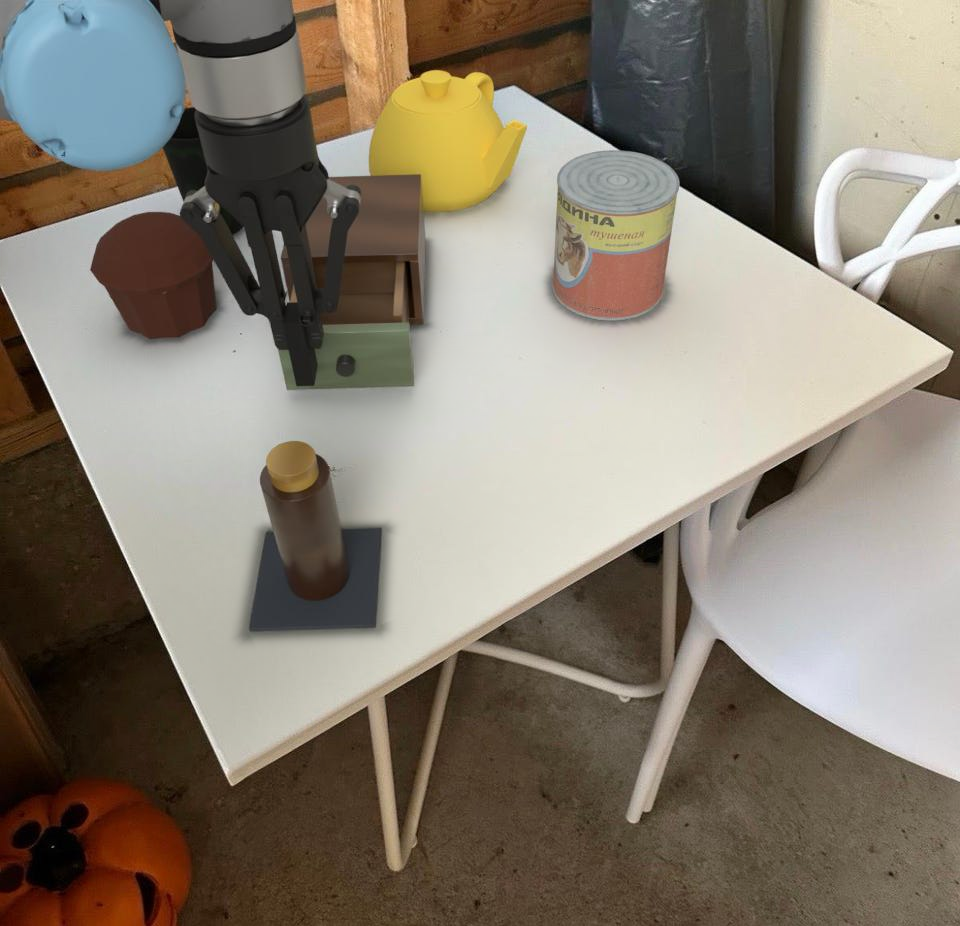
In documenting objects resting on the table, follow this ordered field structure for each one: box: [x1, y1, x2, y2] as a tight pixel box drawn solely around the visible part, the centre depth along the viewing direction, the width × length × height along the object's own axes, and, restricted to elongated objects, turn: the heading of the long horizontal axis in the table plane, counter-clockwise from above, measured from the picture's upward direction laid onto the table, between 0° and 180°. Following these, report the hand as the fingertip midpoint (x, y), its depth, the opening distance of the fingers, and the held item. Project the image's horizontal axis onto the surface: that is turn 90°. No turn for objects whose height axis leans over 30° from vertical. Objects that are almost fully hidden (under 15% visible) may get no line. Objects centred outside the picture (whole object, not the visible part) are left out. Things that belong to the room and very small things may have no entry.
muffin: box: [89, 211, 217, 340], centre depth 89 cm, size 12×11×10 cm
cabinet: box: [280, 174, 427, 326], centre depth 93 cm, size 15×13×8 cm
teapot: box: [368, 69, 528, 213], centre depth 105 cm, size 20×19×13 cm
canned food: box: [551, 149, 681, 322], centre depth 90 cm, size 11×11×12 cm
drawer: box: [277, 261, 415, 391], centre depth 85 cm, size 15×11×6 cm
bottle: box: [259, 440, 349, 601], centre depth 65 cm, size 5×5×13 cm
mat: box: [248, 527, 383, 632], centre depth 69 cm, size 9×9×1 cm
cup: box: [162, 106, 244, 236], centre depth 100 cm, size 8×8×12 cm
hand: (307, 375), depth 77 cm, fingers closed
